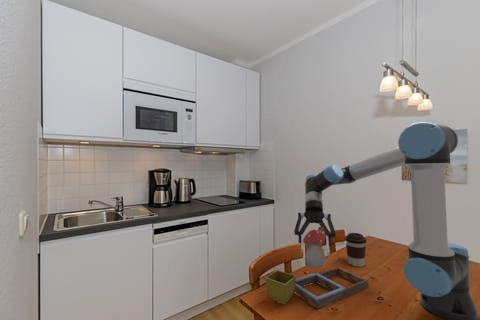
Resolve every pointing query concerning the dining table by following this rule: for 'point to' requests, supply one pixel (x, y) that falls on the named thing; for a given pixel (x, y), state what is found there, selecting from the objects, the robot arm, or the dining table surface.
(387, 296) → the dining table surface
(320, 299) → the slate-blue rim
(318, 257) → the decorative ornament
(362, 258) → the coffee cup
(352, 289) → the gray organizer
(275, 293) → the flower pot
